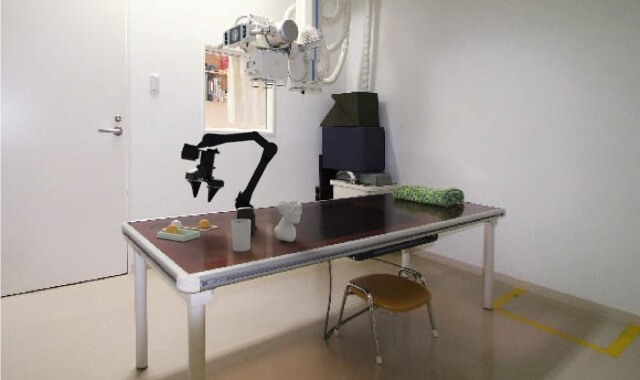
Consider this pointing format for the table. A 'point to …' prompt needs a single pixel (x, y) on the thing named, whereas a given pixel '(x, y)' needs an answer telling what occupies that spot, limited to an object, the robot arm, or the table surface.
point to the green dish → (179, 235)
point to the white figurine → (288, 220)
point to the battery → (246, 216)
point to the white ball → (176, 223)
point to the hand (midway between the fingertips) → (201, 199)
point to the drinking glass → (241, 234)
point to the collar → (203, 229)
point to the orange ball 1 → (172, 229)
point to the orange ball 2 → (204, 224)
